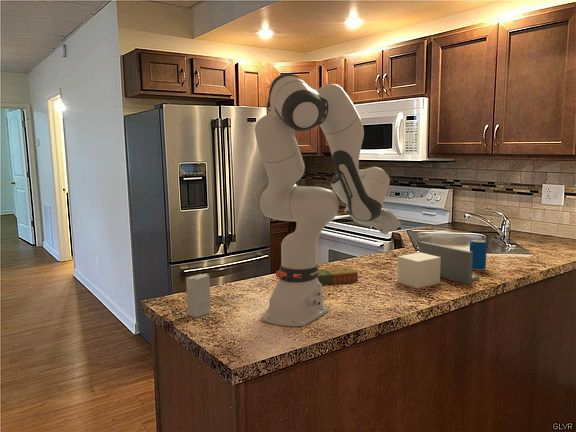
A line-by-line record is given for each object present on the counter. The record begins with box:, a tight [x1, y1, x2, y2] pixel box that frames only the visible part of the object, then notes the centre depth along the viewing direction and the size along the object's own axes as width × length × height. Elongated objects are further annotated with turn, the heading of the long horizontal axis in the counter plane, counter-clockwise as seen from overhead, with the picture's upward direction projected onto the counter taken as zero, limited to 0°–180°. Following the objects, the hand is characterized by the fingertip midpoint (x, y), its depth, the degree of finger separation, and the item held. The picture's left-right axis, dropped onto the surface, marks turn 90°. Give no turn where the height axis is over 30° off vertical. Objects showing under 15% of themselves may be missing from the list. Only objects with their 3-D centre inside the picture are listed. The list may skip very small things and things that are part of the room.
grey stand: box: [418, 241, 480, 285], centre depth 183 cm, size 9×24×12 cm, turn 31°
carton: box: [317, 266, 359, 286], centre depth 179 cm, size 8×16×4 cm, turn 106°
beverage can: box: [469, 238, 488, 271], centre depth 192 cm, size 6×6×12 cm
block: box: [396, 252, 441, 289], centre depth 174 cm, size 12×10×10 cm
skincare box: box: [185, 273, 212, 318], centre depth 143 cm, size 6×4×12 cm
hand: (385, 232), depth 163 cm, fingers closed
